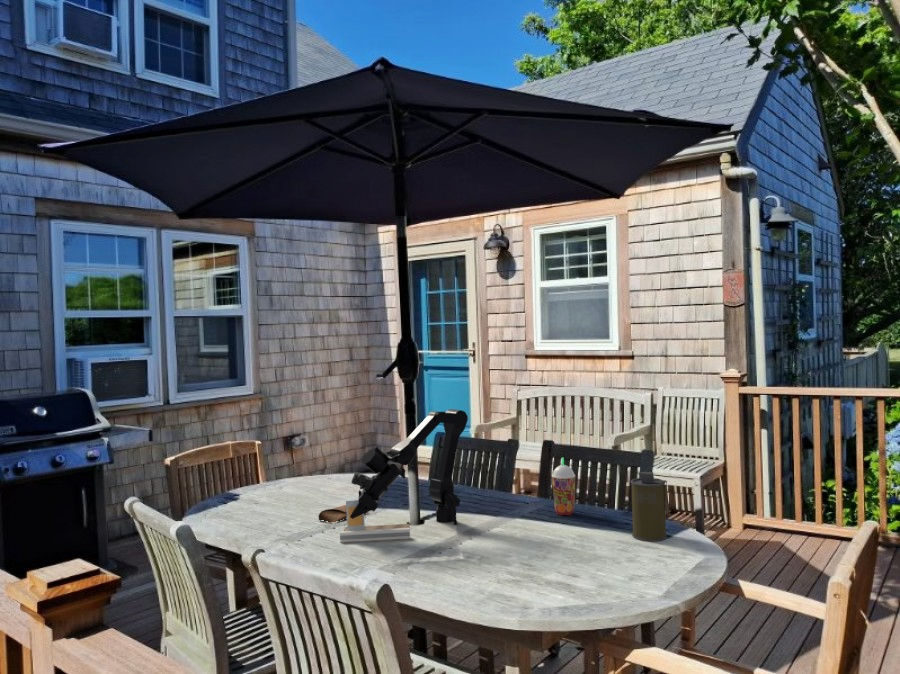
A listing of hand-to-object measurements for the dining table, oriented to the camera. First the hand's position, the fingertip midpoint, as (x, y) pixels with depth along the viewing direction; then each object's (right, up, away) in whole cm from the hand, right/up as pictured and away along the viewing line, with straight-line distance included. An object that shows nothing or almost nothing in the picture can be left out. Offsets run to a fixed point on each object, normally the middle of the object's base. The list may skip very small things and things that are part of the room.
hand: (351, 515), depth 236 cm
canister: (+95, -4, -10) cm, 95 cm away
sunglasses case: (-6, -8, +28) cm, 30 cm away
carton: (+2, -6, 0) cm, 6 cm away
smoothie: (+73, -5, +21) cm, 76 cm away
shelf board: (+8, -7, +2) cm, 11 cm away
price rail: (+8, -6, -5) cm, 12 cm away
